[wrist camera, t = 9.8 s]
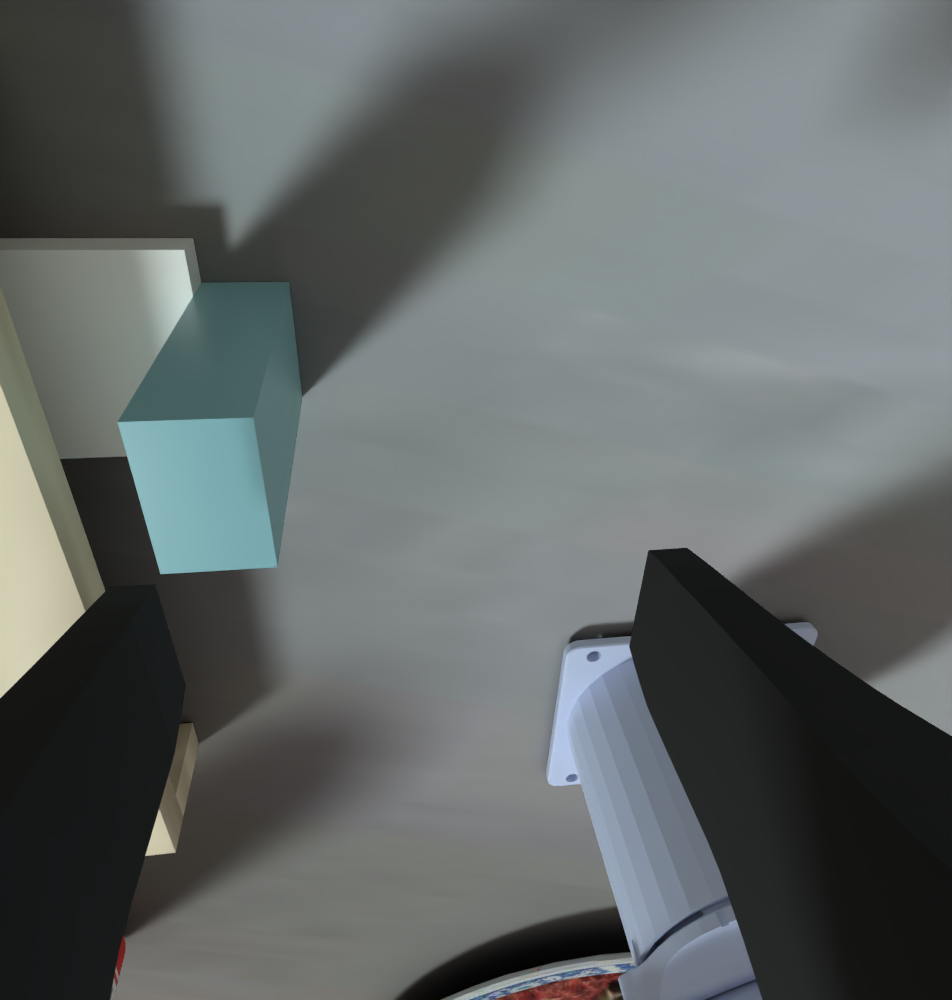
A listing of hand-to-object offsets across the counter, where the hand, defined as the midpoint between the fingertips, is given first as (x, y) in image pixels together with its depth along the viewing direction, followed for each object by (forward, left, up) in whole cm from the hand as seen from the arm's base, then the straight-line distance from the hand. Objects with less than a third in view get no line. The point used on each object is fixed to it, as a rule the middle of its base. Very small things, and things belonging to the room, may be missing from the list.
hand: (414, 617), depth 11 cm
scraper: (+9, -1, -9) cm, 13 cm away
